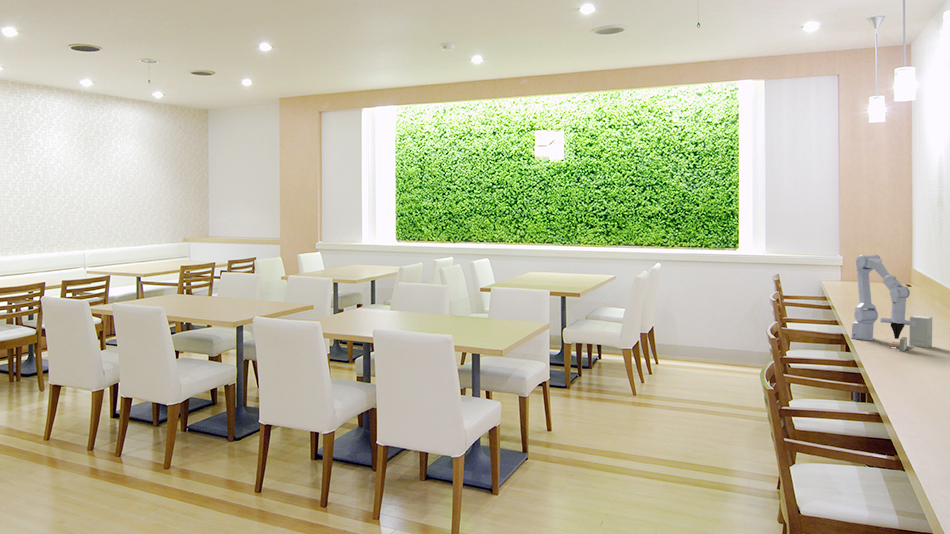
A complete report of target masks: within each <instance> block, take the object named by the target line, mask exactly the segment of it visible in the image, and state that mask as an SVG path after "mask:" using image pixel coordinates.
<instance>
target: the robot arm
mask: <svg viewBox="0 0 950 534" xmlns="http://www.w3.org/2000/svg"><path fill="white" fill-rule="evenodd" d="M855 264H856V265H855V267H856V276H857V277H856V279H857V290H858V291H857V292H858V299H859V300H858V301H859V304H857V305H856V306H855V307H854V319H855V320H853V323H852V325H851V337H850V339H856V340H864V341H869V340H870V341H871V340H872V341H874V340H875V339H876V337H874V323H876V321H877V320H878V318H879V312H878V310H877V307H876V306H875V305H874V304H873V302H872V293H871V292H872V291H871V285H870V284H871V283H870V273H871V272H872V271H873V270H874V271H875V272H876V273H877V274H878V275H879V276H880V277H881V278H882V279H883V280H882V283H883V284H884V285H885V287H886V288H887V289H888V290H889V296H890V297H891V298H890V301H891V314H890V315H891V316H890V318H884V317H881V318H880V323H887V324H890V327H891V330H892V332H893V335H894V339H895V340H900V339H899V338H900V335H901V334H902V333H901V332H902V331H903V329H904V328H905V326H910V325H912V326H915V324H916V322H914V321H910V320H907V319H906V309H907V308H906V307H907V298H909V296H910V289H909V287H907V286H906V285H905V286H904V285H902V283H901V282H900V281H899V280H898V279H897V277H896V276H895V275H892V274H890V272H888V270H887V269H886V267H885V265H884V264H883V259H882V258H881V256H880V255H879V254H860V255H859V256H858V257H857V258H856V259H855ZM873 339H874V340H873ZM872 341H871V342H872Z"/></svg>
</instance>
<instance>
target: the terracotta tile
mask: <svg viewBox="0 0 950 534" xmlns="http://www.w3.org/2000/svg"><path fill="white" fill-rule="evenodd" d="M890 347H896V348H900V341H898V342H897V341H891V342H890V343H889V348H890Z"/></svg>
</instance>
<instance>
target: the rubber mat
mask: <svg viewBox="0 0 950 534" xmlns="http://www.w3.org/2000/svg"><path fill="white" fill-rule="evenodd" d="M913 348H914V346H910V345H909V346H908V345H907V347H906V350H905V351H910V350H912V349H913ZM899 349H900V348H898V349H897V350H899Z"/></svg>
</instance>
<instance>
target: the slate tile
mask: <svg viewBox="0 0 950 534" xmlns="http://www.w3.org/2000/svg"><path fill="white" fill-rule="evenodd" d="M907 341H908V338H907V337H906V336H902V337H901V338H900V339H899V343H900V349H898V350H899V351H898V352H901V351H902V352H903V351H904V352H905V351H907V350H906V347H907V346H908V342H907ZM904 352H903V353H904Z"/></svg>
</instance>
